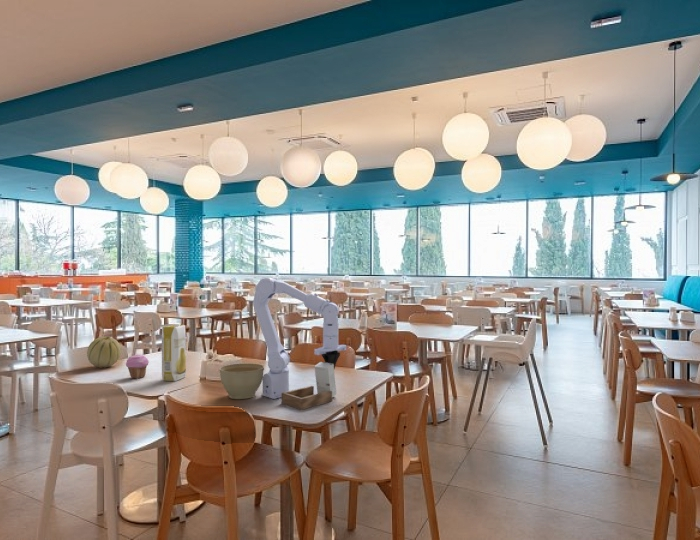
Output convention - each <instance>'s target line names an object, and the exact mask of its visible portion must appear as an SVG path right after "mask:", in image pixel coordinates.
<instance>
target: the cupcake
mask: <svg viewBox="0 0 700 540" xmlns="http://www.w3.org/2000/svg"><path fill="white" fill-rule="evenodd" d="M149 363H150V361H149V359H148V358H147V357H146V356H145V355H143V354H134V355H130V356H129V357H128V358H127V359H126V363H125V367H127V369H128V372H129V373H128V374H129V376H130V377H132V378H131V379H140V377H141V378H144V377H145V376H146V372H147V366H148V365H149Z"/></svg>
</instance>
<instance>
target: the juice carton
mask: <svg viewBox="0 0 700 540" xmlns="http://www.w3.org/2000/svg"><path fill="white" fill-rule="evenodd" d="M186 339H187V338H186V325H185V324H181V323H180V322H174V323H173V324H171V325H167V326H162V327H161V377H162V378H161V380H162V381H163V382H164V381H166V382H168V381H169V382H178V381H180V380H182V379H184V378H186V372H187V363H186V362H187V361H186V360H187V359H186V358H187V357H186V354H187V351H186V349H187V348H186V346H187V345H186V344H187V343H186V342H187V341H186Z"/></svg>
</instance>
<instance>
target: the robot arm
mask: <svg viewBox="0 0 700 540" xmlns="http://www.w3.org/2000/svg"><path fill="white" fill-rule="evenodd" d="M275 294H285V295H288V296H290V297H292V298H294V299H296V300H298V301H301V302H303V304H304V307H305V308H307V309H308V310H311V311H313V312H315V313H316V314H319V315H321V316H322V317H323V323H322V347H318V348H314V350H313V351H314V353H313V354H314V355H315V356H322V358H323V362H324V363H331V364H334V370H335V369H336V365H337V362H338V359H339V358H340V356H341V352H342V351H347V345H346V344H339V316H338V315H339V313H340V307H339V306H338V305H337V304H336V302H334V301H331V300H329V298H327V299H325V298H323V297H321V296H319V294H318V293H316V292H314V293H313V292H311V293H305V292H303V290H301V289H299V288H296V287H295V286H293V285H291V284H289V283H288V282H286V281H283V280H280V279H278V278H275V277H264V278H261V279H259V281H258V283H257V284H256V286H255V291H254V295H253V296H254V297H253V301H252V305H253V307H254V311H255V314H256V318H257V319H258V323H259V326H260V329H261V333H262V335H263V338H264V341H265V344H266V347H267V353H266V354H267V358H268V361H267V366H268V368H269V370H268V372H267V373H263V379H262V393H261V394H260V395H261V396H264V397H267V398H270V399H271V400H272V399H273V400H275V399H280V398H282V393H283V392H287V391H290V380H289V379H290V369H289V367H288V365H289V364H290V361H291V357H290V355H289V353H288V352H286V349H285V347H284V345H283V344H282V343H281V341H280V338H279V334H278V332H277V329H276V325H275V322H274V319H273V317H272V314H271V311H270V308H269V302H270V300H271V299H272V298H273V296H274V295H275Z"/></svg>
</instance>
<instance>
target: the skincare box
mask: <svg viewBox="0 0 700 540" xmlns="http://www.w3.org/2000/svg"><path fill="white" fill-rule="evenodd" d="M314 373H315V383H316V391H317V393H316V394H319V393H323V392H327V391H332V398H334V397H335V396H336V394H337V386H336V385H337V384H336V376H335V369H334V364H331V363H325V361H323V362H322V361H320V362H318V363H317V364H315V365H314Z"/></svg>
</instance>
